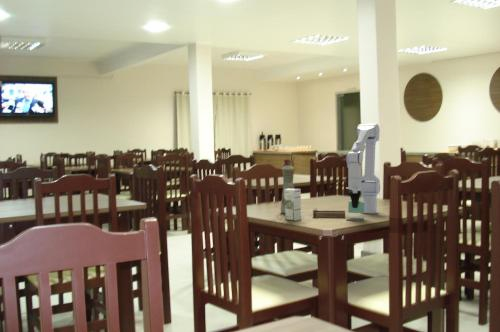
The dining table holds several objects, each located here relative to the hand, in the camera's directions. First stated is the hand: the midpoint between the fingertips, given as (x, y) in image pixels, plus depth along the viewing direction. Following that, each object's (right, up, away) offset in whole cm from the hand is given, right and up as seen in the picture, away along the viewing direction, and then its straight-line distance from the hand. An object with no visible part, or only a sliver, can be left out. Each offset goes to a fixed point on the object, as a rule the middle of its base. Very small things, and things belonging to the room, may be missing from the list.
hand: (354, 207), depth 248 cm
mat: (0, -6, 0) cm, 6 cm away
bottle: (-29, -5, +25) cm, 38 cm away
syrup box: (-28, -6, +3) cm, 29 cm away
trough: (-10, -5, +11) cm, 16 cm away
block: (0, -2, 0) cm, 2 cm away
